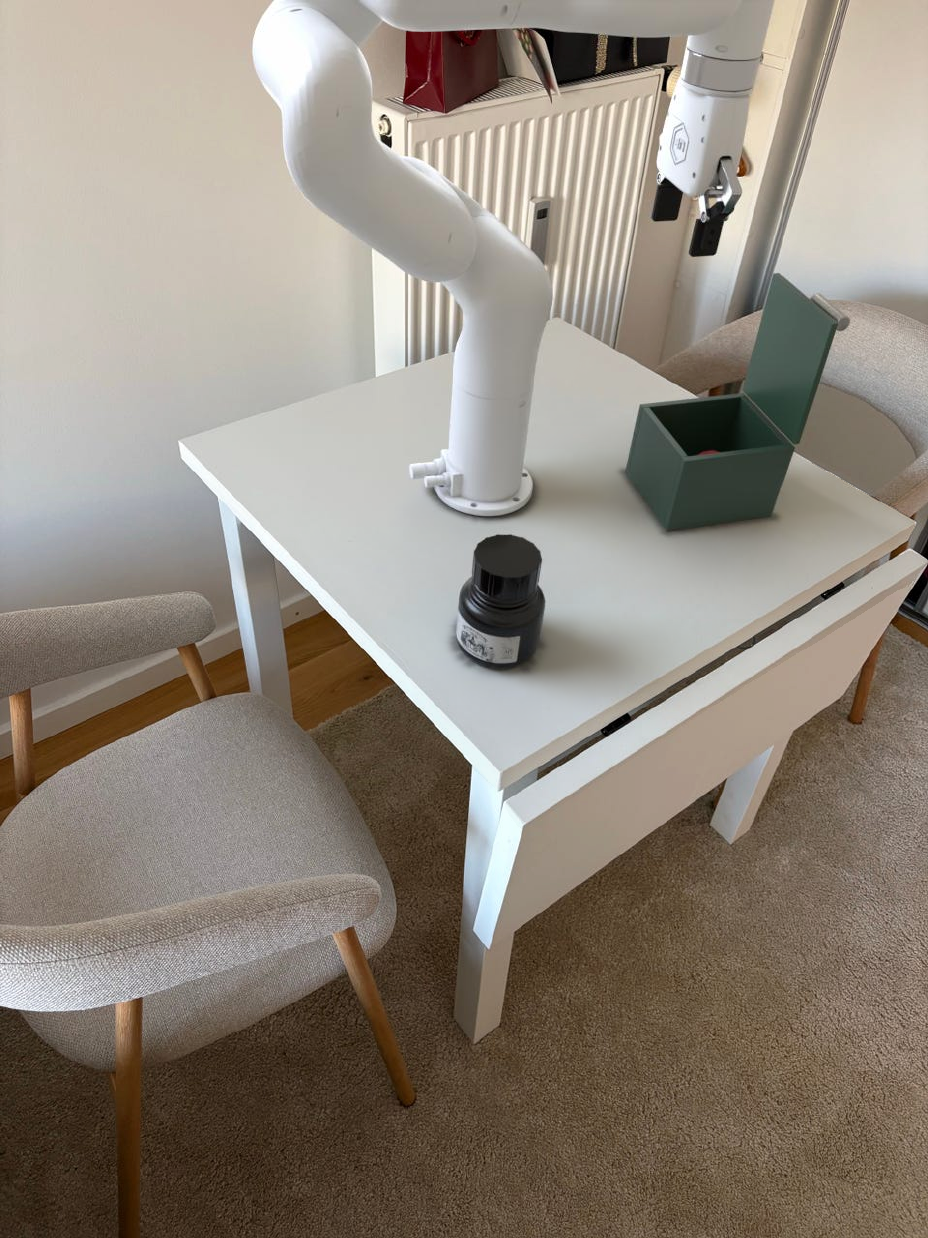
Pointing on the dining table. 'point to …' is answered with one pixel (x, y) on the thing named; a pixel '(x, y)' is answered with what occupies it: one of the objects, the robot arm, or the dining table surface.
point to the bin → (707, 461)
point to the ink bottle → (501, 603)
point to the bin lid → (791, 354)
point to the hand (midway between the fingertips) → (682, 237)
